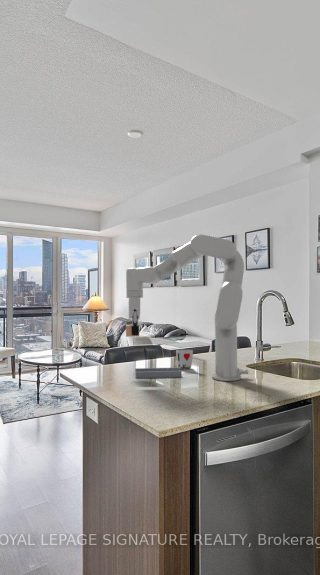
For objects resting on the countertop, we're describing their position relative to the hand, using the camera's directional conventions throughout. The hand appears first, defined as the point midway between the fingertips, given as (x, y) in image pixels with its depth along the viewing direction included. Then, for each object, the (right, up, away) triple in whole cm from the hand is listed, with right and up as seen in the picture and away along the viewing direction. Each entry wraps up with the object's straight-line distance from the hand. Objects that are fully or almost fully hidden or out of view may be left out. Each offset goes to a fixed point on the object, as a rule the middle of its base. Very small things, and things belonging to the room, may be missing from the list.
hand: (135, 334), depth 172 cm
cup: (+23, -20, +10) cm, 32 cm away
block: (+2, +2, 0) cm, 2 cm away
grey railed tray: (+10, -19, -5) cm, 22 cm away
